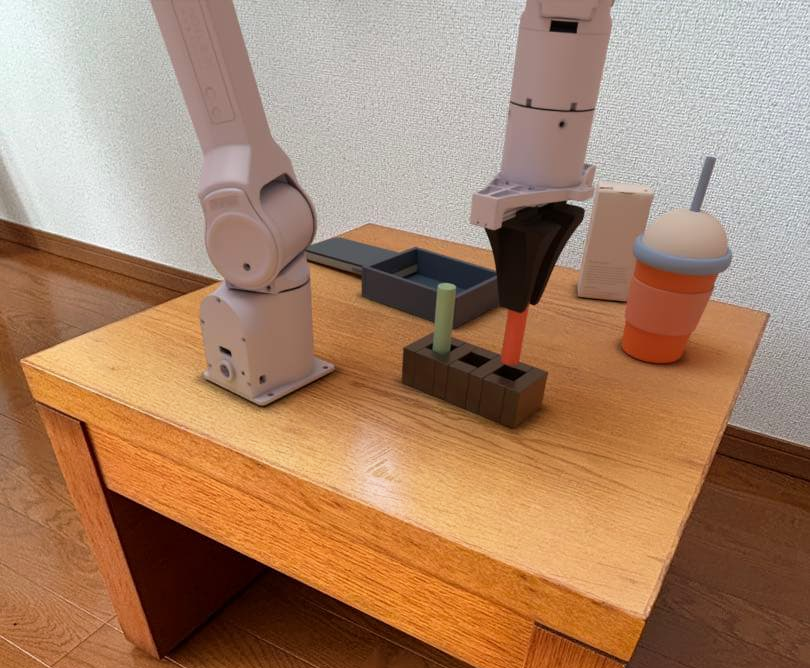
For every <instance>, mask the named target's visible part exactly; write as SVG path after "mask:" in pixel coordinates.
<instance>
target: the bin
mask: <svg viewBox="0 0 810 668" xmlns="http://www.w3.org/2000/svg"><path fill="white" fill-rule="evenodd" d="M413 262H416V263H417V271H416V272H415V273H412V274H410V275H408V276H405V277H403V278H402V277H399V276H395V275H392V274H389V273H390V272H391V271H394V270H396V269H398V268H401V267H403V266H406V265H408V264H411V263H413ZM442 283H450V284H453V285H455V286H456V295H455V305H454V316H453V326H452V330H454V329H456V328H458V327H460V326H463V324H466V323H467V322H469V321H471V320H473V319H475V318H477V317H479V316H480V315H482V314H484V313H487V312H489V311H490V310H492V309H494V308H496V307H497V306H500V304H499V295H498V285H497V275H496V269H492V268H489V267H486V266H482V265H478V264H475V263H471V262H470V261H469V262H468V261H465V260H462V259H459V258H455V257H452V256H448V255H446V254H441V253H438V252H435V251H432V250H428V249H425V248H421V247H418V246H413V247H411V248H408V249H405V250H403V251H400V252H399V253H397V254H394V255H392V256H389V257H386V258H384V259H381V260H378V261H376V262H373V263H370V264H368V265H365V266H362V275H361V297H363V298H366V299H368V300H371V301H374V302H377V303H379V304H383V305H385V306H388V307H392V308H394V309H397V310H400V311H402V312H405V313H408V314H411V315H414V316H416V317H419V318H422V319H424V320H428V321H430V322H434V323H435V313H436V300H437V287H438V285H439V284H442Z"/></svg>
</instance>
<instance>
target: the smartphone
mask: <svg viewBox="0 0 810 668" xmlns="http://www.w3.org/2000/svg"><path fill="white" fill-rule="evenodd" d="M305 251H306V260H307V261H311V262H314V263H318V264H322V265H325V266H328V267H332V268H336V269H338V270H343V271H346V272H348V273H353V274H356V275H360V276H362V266H365V265H368V264H370V263H373V262H376V261H378V260H381V259H384V258H386V257H389V256H392V255H394V254H397V253H400V252H398V251H395V250H390V249H387V248H383V247H379V246H375V245H372V244H368V243H364V242H359V241H356V240H353V239H348V238H344V237H340V236H339V237H331V238H328V239H325V240H322V241H319V242H315V243H312V244H311V245H310V246H309V248H308V249H307V250H305ZM416 271H417V263H416V262H413V263H411V264H408V265H406V266H403V267H401V268H398V269H396V270H394V271H391V272H390V273H389V274H392V275H395V276H399V277H402V278H403V277H405V276H408V275H410V274H412V273H415V272H416Z"/></svg>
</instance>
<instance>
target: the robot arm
mask: <svg viewBox="0 0 810 668" xmlns="http://www.w3.org/2000/svg"><path fill="white" fill-rule="evenodd" d="M149 3H150V5H151V8H152V10H153V14H154V16H155V19H156V22H157V26H158V27H159V31H160V34H161V36H162V39H163V43H164V45H165V48H166V50H167V53H168V56H169V59H170V62H171V65H172V68H173V71H174V73H175V76H176V80H177V82H178V85H179V89H180V91H181V94H182V96H183V99H184V102H185V106H186V108H187V111H188V114H189V117H190V119H191V123H192V125H193V128H194V131H195V134H196V137H197V140H198V143H199V146H200V148H201V151H202V154H203V162H202V167H201V171H200V177H199V182H198V187H197V197H198V201H199V203H200V206H201V210H202V213H203V217H204V234H203V235H204V236H203V239H204V246H205V251H206V254H207V256H208V259H209V260H210V262H211V264H212V266H213V267H214V269H215V270H216V271H217V273H218V274H219V275H220V276H221V277H222V278H223V280H222V282H221V284H220V285H219V286H218V287H217V288H216V289H215V290H214V291H212V292H211V293H209V294H207V295H206V296H204V298H203V299H202V300H201V302H200V305H199V309H198V311H199V314H198V316H199V324H200V329H201V335H202V343H203V348H204V354H205V360H206V366H207V370H206V371H204V372H203V378H204V379H206V380H208V381H210V382H212V383H214V384H216V385H218V386H220V387H222V388H224V389H226V390H228V391H230V392H232V393H234V394H236V395H238V396H240V397H242V398H244V399H246V400H248V401H250V402H252V403H254V404H256V405H258V406H266V405H269V404H270V403H272V402H274V401H276V400H278V399H280V398H282V397H285V396H286V395H288V394H290V393H293V392H294V391H296V390H298V389H300V388H302V387H304V386H306V385H308V384H310V383H312V382H315V381H316V380H318V379H320V378H322V377H324V376H326V375H328V374H330V373H333V372H334V371H335V365H334V364H333V363H331V362H329V361H326V360H324V359H321V358H319V357H316V356H315V344H314V341H315V340H314V322H313V321H314V319H313V302H312V301H313V300H312V282H311V281H312V279H311V268H310V265H309V263H308V260H307V259H306V251H305V250H307V249H308V248H309V246H310V245H312V244H313V242H314V241H315V238H316V235H317V231H318V215H317V211H316V207H315V205H314V202H313V200H312V199H311V196H310V195H309V194H308V193H307V192H306V190H305V189H304V188H303V186H302V185H301V184H300V182H299V180H298V178H297V176H296V173H295V170H294V167H293V163H292V160H291V158H290V157H289V155H288V154H287V153H286V152H285V151H284V149H283V148H282V147H281V146H280V145H279V144H278V143H277V142H276V139H274V137H273V135H272V132H271V130H270V125H269V122H268V118H267V115H266V112H265V108H264V105H263V102H262V98H261V94H260V91H259V87H258V84H257V82H256V81H257V80H256V76H255V74H254V73H255V72H254V71H253V66H252V63H251V60H250V57H249V52H248V49H247V46H246V43H245V38H244V35H243V32H242V29H241V25H240V22H239V21H240V20H239V18H238V14H237V11H236V8H235V4H234V0H149ZM615 3H616V0H526V1H525V8H524V10H523V12H522V13H521V14H520V19H519V24H518V25H519V26H518V34H517V40H516V41H517V42H516V50H515V56H514V65H513V73H512V79H511V86H510V87H511V88H510V95H509V103H508V109H507V118H506V119H507V120H506V124H505V125H506V126H505V131H504V133H505V134H504V141H503V147H502V148H503V149H502V156H501V164H500V171H499V172H497V173H496V175H495V176H493V178H492V179H491V180H490V181H489V182H488V183H487V184H486V185H485V186H484V187H483V188H481V189H480V190H477V191H475V192H473V193H472V197H471V206H470V207H471V208H470V216H469V224H470V225H473V226H477V227H480V228H483V229H484V231H485V233H486V236H487V239H488V242H489V244H490V249H491V252H492V256H493V261H494V266H495V270H496V275H497V285H498V295H499V307H500V308H503V309H506V310H508V309H509V310H512V311H515V312H518V313H522V312H524V311H525V310H526V308H527V306H528V304H529V305H531V306H533V307H534V306H536V305H539V302H540V301H541V299H542V297H543V295H544V292H545V290H546V288H547V285H548V283H549V281H550V278H551V276H552V273H553V272H554V269H555V266H556V264H557V263H558V260H559V258H560V256H561V254H562V252H563V250H564V248H565V247H566V246H567V244H568V242H569V240H570V239H571V237H572V236H573V235H574V233H575V232H576V231H577V229H578V228H579V226H580V225H581V224H582V223H583V221H584V218H585V213H586V209H585V208H584V207H581V206H579V205H574V204H570V203H568V201H576V202H585V201H588V200H590V199H592V198H594V196H595V191H596V186H594V184H593V183H594V179H595V174H596V169H597V165H596V164H592V163H587V162H585V161H586V156H587V150H588V146H589V141H590V136H591V132H592V128H593V127H592V126H593V121H594V118H595V117H594V116H595V111H596V107H597V104H598V103H597V102H598V98H599V93H600V88H601V83H602V78H603V73H604V68H605V63H606V58H607V53H608V48H609V43H610V38H611V35H612V34H611V33H612V29H613V19H612V16H611V10H612V8H614V5H615ZM529 301H530V303H529Z"/></svg>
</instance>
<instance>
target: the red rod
mask: <svg viewBox="0 0 810 668" xmlns="http://www.w3.org/2000/svg"><path fill="white" fill-rule="evenodd" d="M529 303H530V301H529ZM529 308H530V304H528V306H527V308H526V310H525V311H524V312H522V313H518V312H515V311H512V310H509V309H507V316H506V322H505V329H504V335H503V342H502V348H501V354H500V355H501V359H500V360H501V362H502V363H503V364H505V365H509V366H514V365H517V364H518V363H519V361H520V359H521V353H522V348H523V343H524V342H523V341H524V337H525V332H526V325H527V320H528V314H529Z"/></svg>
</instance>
